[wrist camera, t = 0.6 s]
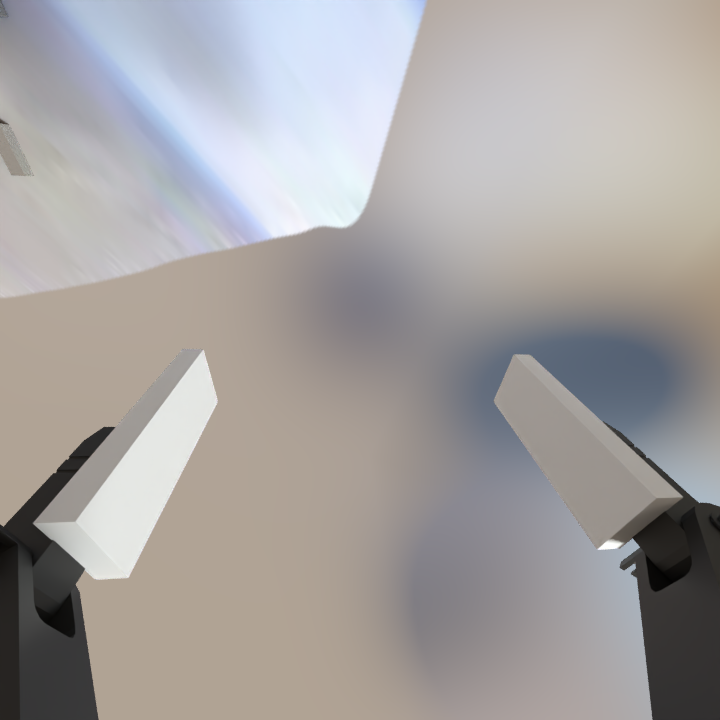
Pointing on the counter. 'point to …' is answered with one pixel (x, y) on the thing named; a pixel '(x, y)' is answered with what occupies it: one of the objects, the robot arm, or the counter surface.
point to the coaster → (2, 10)
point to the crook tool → (13, 153)
